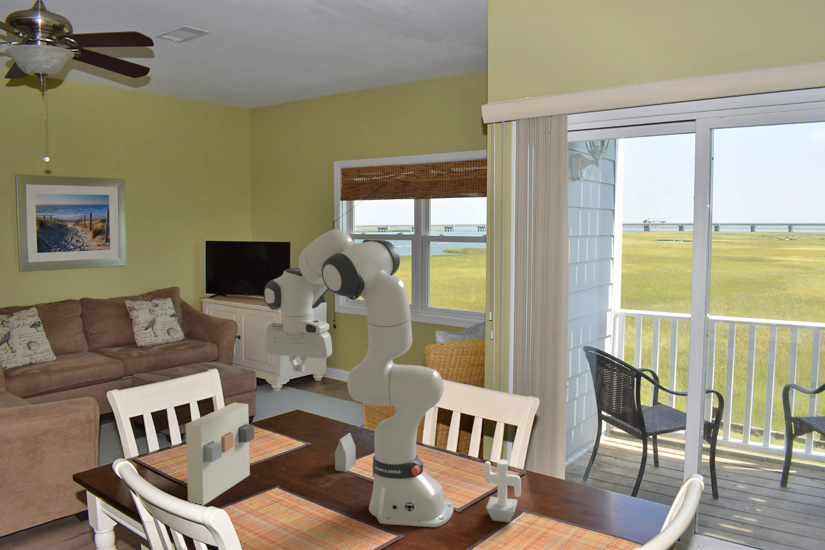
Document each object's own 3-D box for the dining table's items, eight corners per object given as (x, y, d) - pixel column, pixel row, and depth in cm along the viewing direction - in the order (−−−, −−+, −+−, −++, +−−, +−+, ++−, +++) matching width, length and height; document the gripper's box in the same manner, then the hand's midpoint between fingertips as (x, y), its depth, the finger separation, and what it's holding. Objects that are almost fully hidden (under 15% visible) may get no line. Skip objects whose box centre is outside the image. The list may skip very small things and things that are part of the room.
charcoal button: (254, 438, 186) (253, 425, 186) (246, 442, 182) (246, 429, 182) (242, 436, 187) (242, 423, 187) (234, 441, 184) (234, 428, 183)
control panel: (249, 474, 189) (248, 404, 187) (203, 505, 168) (201, 426, 166) (235, 472, 190) (234, 402, 189) (188, 502, 170) (185, 424, 168)
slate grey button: (221, 457, 171) (221, 442, 171) (212, 462, 167) (211, 447, 167) (209, 455, 172) (208, 441, 172) (199, 460, 169) (199, 446, 168)
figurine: (518, 526, 156) (519, 468, 155) (481, 521, 159) (482, 464, 157) (522, 513, 163) (522, 458, 162) (486, 509, 165) (486, 454, 164)
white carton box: (355, 464, 197) (355, 433, 197) (345, 471, 191) (345, 440, 190) (345, 462, 199) (344, 432, 198) (335, 470, 192) (334, 438, 192)
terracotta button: (233, 446, 179) (233, 433, 179) (225, 451, 175) (224, 437, 175) (221, 445, 180) (221, 431, 180) (213, 449, 177) (212, 436, 176)
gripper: (261, 324, 181) (262, 370, 182) (324, 327, 174) (324, 376, 175) (273, 321, 187) (273, 366, 188) (334, 324, 180) (334, 371, 181)
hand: (298, 371), depth 182 cm, fingers closed
